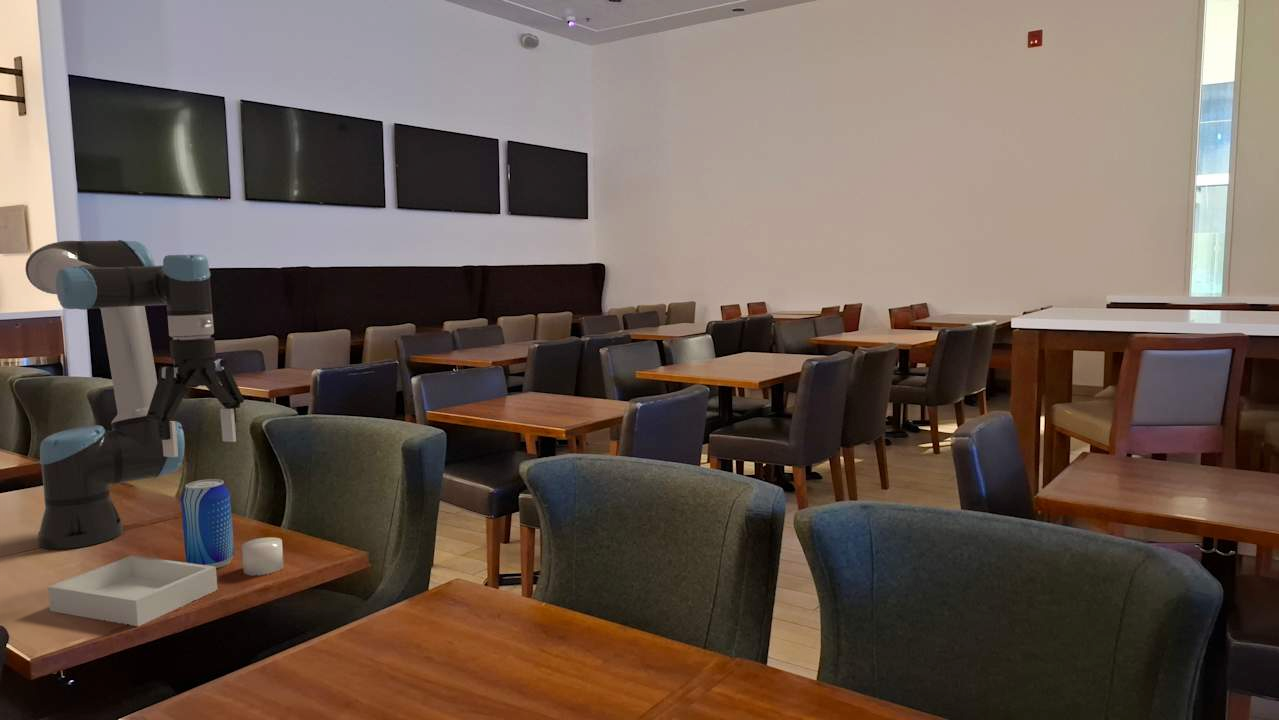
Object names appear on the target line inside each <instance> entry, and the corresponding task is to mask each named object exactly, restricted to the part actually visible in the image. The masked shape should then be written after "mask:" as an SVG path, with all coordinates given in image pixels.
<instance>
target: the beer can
mask: <svg viewBox="0 0 1279 720" xmlns="http://www.w3.org/2000/svg"><path fill="white" fill-rule="evenodd" d="M224 483H225V482H224V480H222V479H218V478H209V479H208V478H207V479H201V480H200V479H199V480H196V481H195V480H194V481H192V482H189V483H186V484H185V486H184V487H185V489H184V491H183V492H182V495H181V496H180V505H181V506H180V507H181V517H182V518H181V519H182V529H183V539H184V541H183V543H184V552H185V553H184V554H185V563H192V564H199V565H207V566H214V567H216V569H220V568H222V567H225V566H227V565H228V564H230V563H231V561H232V559H233V558H234V556H235V544H234V530H233V521H232V520H233V519H232V518H233V517H232V507H231V504H232V503H231V494H230V493H231V492H230V490H229V488H227V487H226V485H225V484H224Z"/></svg>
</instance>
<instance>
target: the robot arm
mask: <svg viewBox="0 0 1279 720" xmlns="http://www.w3.org/2000/svg"><path fill="white" fill-rule="evenodd" d="M162 264H163V265H156V264H155V261H154V258H153V256H152V254H151V252H150V250H149V249H148V248H147V246H146V245H144V244H143V243H142V242H140V241H133V240H132V241H131V240H130V241H128V240H123V239H118V240H64V241H63V240H61V241H57V242H53V243H52V242H51V243H48V244H46V245H43V246H41V247H39V248H38V249H36V250H35V251H33V252H32V253H31V254H30V255H29V257H28V258H27V259H26V262H25V267H24V268H25V276H26V277H27V279H28V281H29V283H31V286H34V287H35V288H36V289H38V290H40V291H41V292H44V293H47V294H49V295H50V294H51V295H57V300H58V302H59V304H60V306H61V307H62V308H64V309H67V310H83V311H84V310H90V309H100V312H101V319H102V324H103V331H104V336H105V337H104V339H105V345H106V350H107V355H108V356H107V357H108V360H109V362H108V363H109V370H110V375H111V380H112V386H113V393H114V399H115V404H116V405H115V406H116V411H117V415H115V417H113V420H112V421H111V422H110V423H111V429H110V430H106V429H105V428H104V426H102V425H100V424H98V425H97V424H94V425H93V424H92V425H87V426H84V425H83V426H79V427H73V428H70V429H65V430H62V431H59V432H56V433H52V434H50V435H48V436H46V437H45V438H44V439H43V440H41V443H40V445H39V464H40V467H41V477H42V485H43V487H42V488H43V495H44V496H43V497H44V507H45V509H44V511H43V512H44V513H43V516H42V520H41V523H40V527H39V531H38V533H37V537H38V539H37V540H38V546H39V547H40V548H43V549H49V550H66V549H67V550H68V549H76V548H77V549H78V548H83V547H88V546H93V545H97V544H101V543H104V542H108V541H110V540H114V539H115V538H117V537H119V536H120V535H122V534H123V532H124V531H123V530H124V528H123V527H124V526H123V521H122V518H120V515H119V513H118V511H117V509H116V506H115V504H114V502H113V501H112V497H111V492H110V490H111V489H110V486H111V485H116V484H122V483H129V482H134V481H139V480H140V481H141V480H144V479H145V480H146V479H150V478H159V477H161V476H166V475H171V474H174V473H175V472H177V471H178V470H179V469H180V468H181V466H182V463H183V460H184V455H185V444H186V443H185V433H184V429H183V425H182V424H181V422H179V421H175V420H172V419H173V417H174V415H175V413H176V412H177V410H178V408H179V406H180V405H181V402H182V401H183V399H184V397H185V395H186V394H187V392H189V391H190V390H191V389H193V388H198V387H202V386H203V387H206V389H208V391H209V392H210V393H211V394H212V395H213V396H214V397H215V398H216V400H217V401H218V402H219V403H220V404H221V405H222V406H223V407H224V408H220V409H219V411H220V423H221V424H220V425H221V427H220V428H221V437H222V442H226V443H227V442H228V443H229V442H230V443H235V442H237V435H236V424H237V418H238V417H237V409H239V408H240V407H241V404H243V403H244V401H245V398H244V396H243V394H242V392H241V390H240V389H239V386H238V385H237V382H236V381H235V378H234V377H233V374H232V372H231V370H230V366H229V361H228V359H227V358H214V357H216V354H217V352H216V340H215V338H214V337H211V336H212V335H213V334H215V329H214V316H213V314H214V313H213V304H212V303H213V302H212V288H211V287H212V286H211V276H212V275H211V271H210V266H209V260H208V258H207V256H205V255H204V254H169V255H168V254H167V255H165V256H164V258H163V261H162ZM148 306H149V307H151V306H152V307H154V306H166V312H167V324H168V328H167V329H168V336H169V337H170V338H172V339H170V341H169V348H170V350H169V351H170V358H171V359H172V360H173V361H174V362H173V363H174V365H173V367H172V366H160V367H159V368H158V377H157V371H156V366H155V361H154V355H153V354H154V353H153V348H152V342H151V337H150V330H149V324H148V318H147V313H146V307H148ZM214 372H215V374H214ZM157 378H158V379H157Z"/></svg>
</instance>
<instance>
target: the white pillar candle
mask: <svg viewBox="0 0 1279 720" xmlns="http://www.w3.org/2000/svg"><path fill="white" fill-rule="evenodd" d="M283 552H284V551H283V539H282V538H279V537H271V536H270V537H269V536H267V537H259V538H255V539H252V540H251V539H250V540H248V541H246V542H244V543H242V545H241V554H242V555H241V556H242V569H243V573H244V574H245V575H246V574H247V576H255V575H257V576H265V574H266V575H270V573H271V574H274V573H277V572H278V571H279V572H280V571H281V570H282V569H283V568H284V567H285V564H284V553H283ZM280 569H281V570H280ZM276 571H277V572H276ZM273 572H274V573H273Z"/></svg>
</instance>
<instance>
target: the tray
mask: <svg viewBox="0 0 1279 720" xmlns="http://www.w3.org/2000/svg"><path fill="white" fill-rule="evenodd" d="M216 590H217V591H218V577H217V568H216V567H214V566H207V565H199V564H192V563H186V561H185V562H184V561H176V560H169V559H164V558H163V559H161V558H155V557H147V556H140V555H134V554H133V555H129V556H126V557H124V558H122V559H118V560H116V561H113V562H111V563H108V564H106V565H103V566H100V567H97V568H94V569H92V570H89V571H87V572H84V573H81V574H78V575H76V576H72V577H70V578H67V579H65V580H62V581H60V582H59V581H58V582H57V583H54V584H51V585H49V586H47V591H48V602H49V611H50V612H52V613H53V612H54V613H59V614H65V615H71V616H77V617H81V618H88V619H94V620H99V621H104V620H105V621H104V622H111V623H115V622H116V624H121V623H122V624H123V623H124V624H123V625H127V624H129V625H128V626H134V627H140V626H142V625H144V624H148V623H149V622H151V621H153V620H155V619H157V618H160V617H162V616H164V615H166V614H169V613H171V612H173V611H175V610H177V609H179V607H180V608H181V607H184V606H187V605H188V604H190V603H193V602H195V601H196V600H199V599H201V598H203V596H204V597H206V596H208V595H210V594H211V593H214V592H216ZM205 595H206V596H205ZM194 600H195V601H194ZM192 601H193V602H192Z"/></svg>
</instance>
